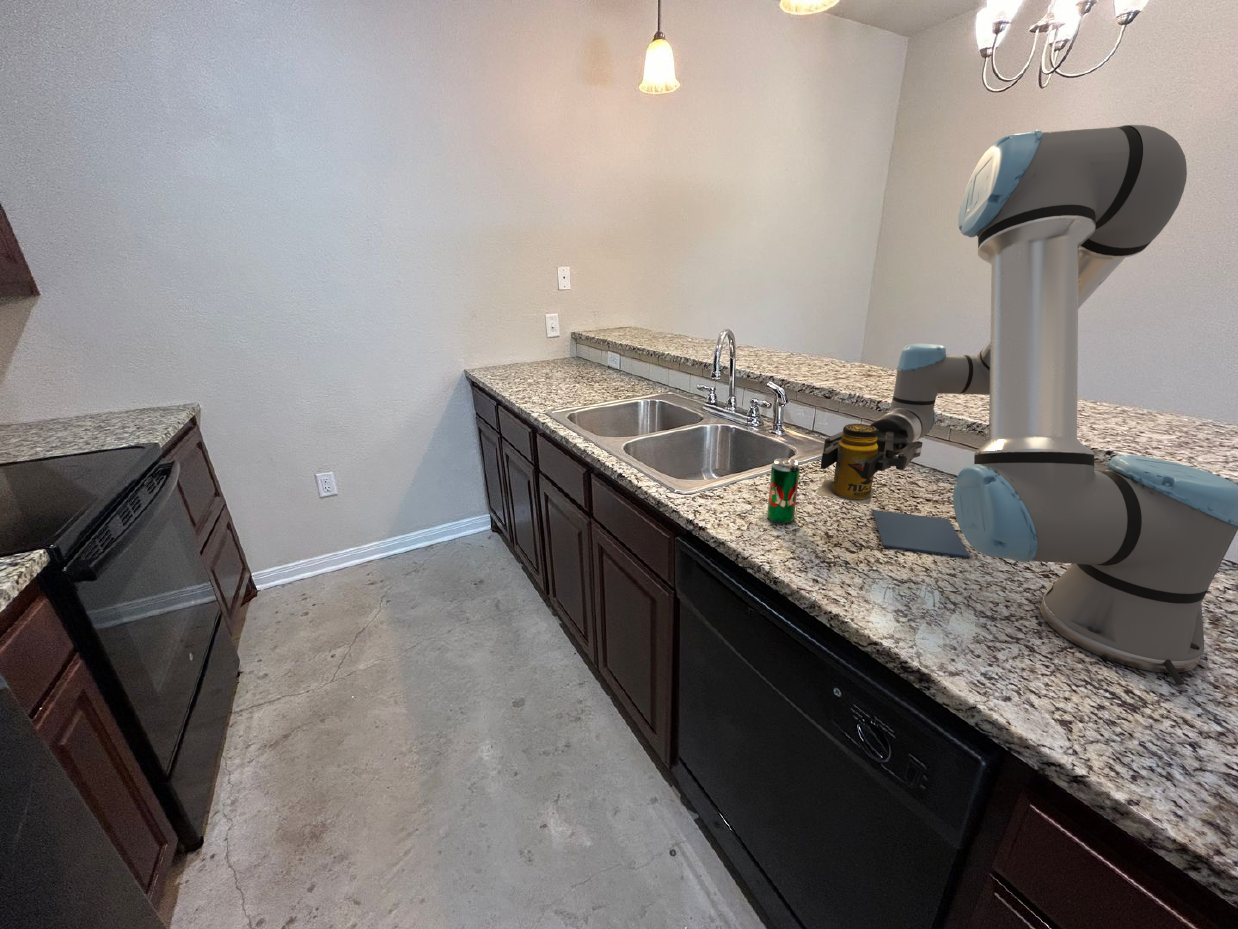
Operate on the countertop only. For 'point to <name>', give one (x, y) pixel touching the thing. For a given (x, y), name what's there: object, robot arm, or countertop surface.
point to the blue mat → (919, 533)
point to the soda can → (783, 490)
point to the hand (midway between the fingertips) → (844, 465)
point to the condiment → (853, 465)
